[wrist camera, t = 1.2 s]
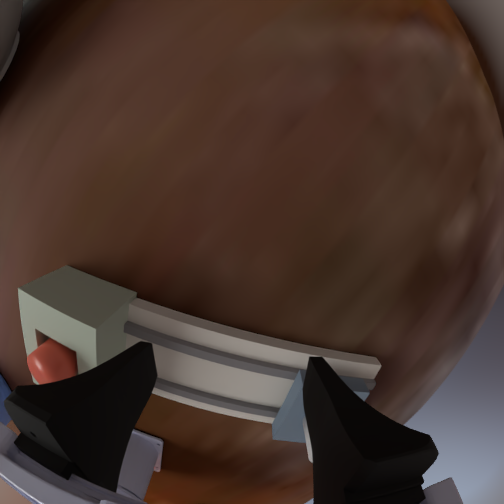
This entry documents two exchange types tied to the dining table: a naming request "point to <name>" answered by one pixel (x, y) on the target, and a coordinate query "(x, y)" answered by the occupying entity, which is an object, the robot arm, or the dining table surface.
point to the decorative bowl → (9, 31)
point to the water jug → (3, 391)
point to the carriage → (293, 416)
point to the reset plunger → (52, 362)
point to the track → (174, 345)
